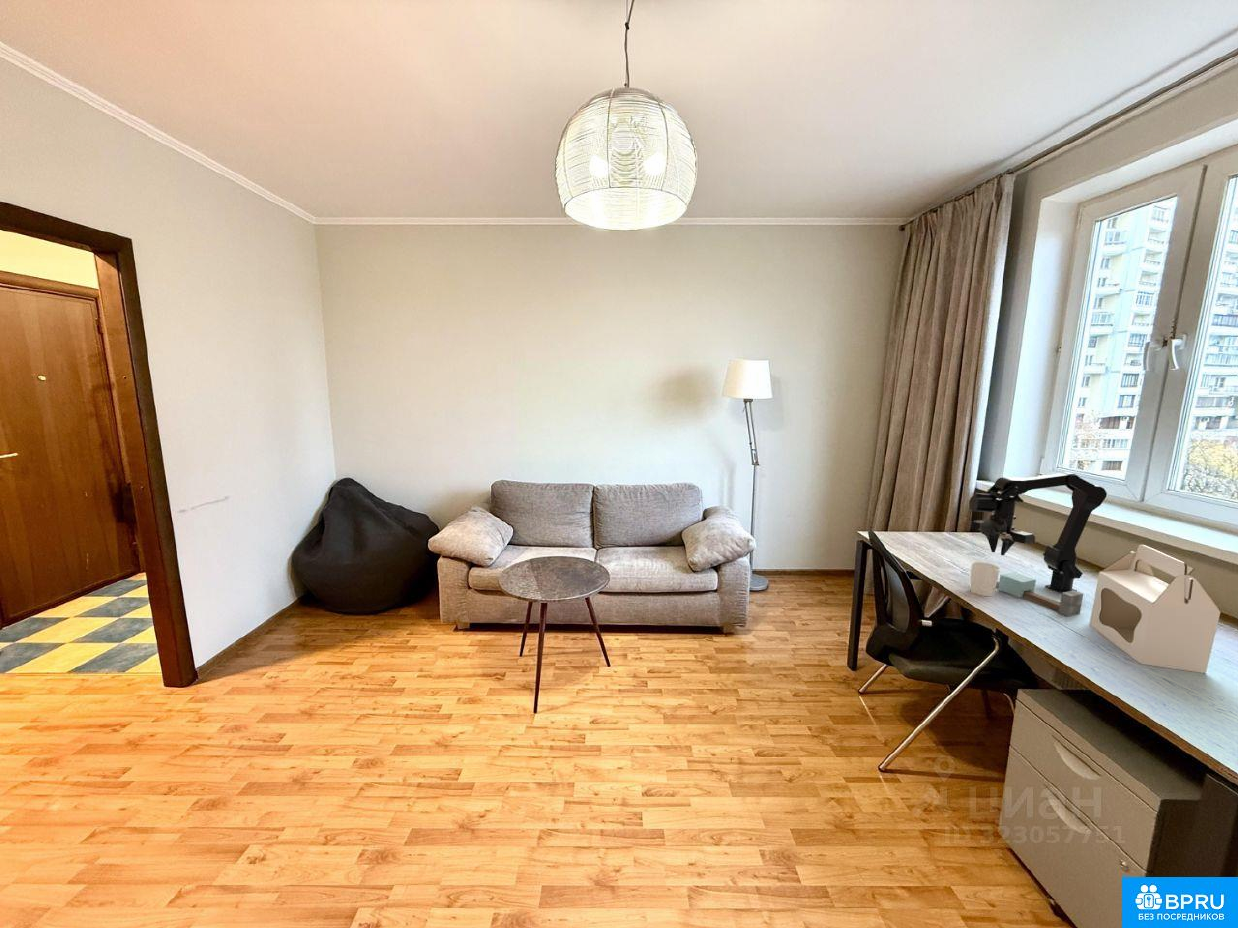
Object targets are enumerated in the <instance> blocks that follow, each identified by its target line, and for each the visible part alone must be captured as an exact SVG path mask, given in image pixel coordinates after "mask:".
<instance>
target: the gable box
mask: <svg viewBox="0 0 1238 928" xmlns="http://www.w3.org/2000/svg"><path fill="white" fill-rule="evenodd" d="M1151 566H1152V567H1153V568H1155V569H1158V570H1160V571H1162V572H1164V573H1165V574H1168V575H1170V576H1172V577H1173V579H1172V581H1171V582H1169V583H1167V582H1166V581H1163V580H1161V579H1159V578H1157V577H1155V574H1154V573H1153V572H1154V571H1153V570H1152V568H1151ZM1193 571H1195V568H1193V567H1191V566H1189V565H1187V563H1186V562H1183V560H1179V559H1177V558H1175V557H1173V556H1170V555H1168V554H1165V553H1164V552H1162V551H1159V550H1157V549H1155V548H1152V547H1150V546H1147V545H1145V544H1139V545H1138V547H1137V550H1136V551H1132V550H1130V552H1128V553H1127V554H1125V555H1123V556H1122V557H1120V558H1118V559H1117V560H1115V561H1114V562H1112V563H1111V564H1109V565H1108V566H1107V567H1104V568H1103V569H1102V570H1101V571H1099V572H1098V576H1097V582H1096V589H1095V593H1094V597H1093V604H1092V608H1091V614H1090V618H1089V626H1090V627H1092V628H1093V629H1094V630H1095V631H1097V633H1100V634H1101V635H1102V636H1103V637H1105V639H1107V640H1109V641H1110V642H1111V643H1112V644H1114V645H1115V646H1117V647H1118V648H1119V649H1120V650H1122V651H1123V652H1125V653H1126V654H1127V655H1128V656H1130V658H1132V659H1133V660H1135V661H1136V662H1137V663H1139V664H1140V665H1146V666H1151V667H1152V666H1153V667H1159V668H1166V669H1175V670H1180V671H1185V672H1186V671H1187V672H1192V673H1201V674H1206V673H1207V670H1208V666H1209V661H1210V657H1211V653H1212V649H1213V645H1214V641H1215V636H1216V633H1217V630H1218V629H1217V627H1218V623H1219V619H1220V617H1221V616H1220V615H1221V609H1219V608H1218V606H1217V605H1216V604H1215V603H1214V601H1213V600H1212V598H1211V597H1210V596H1209V595H1208V593H1207V591H1205V589H1204V588H1203V586H1202V585H1201V583H1200V582H1199V581H1198V580H1197V579H1196V578H1195V577H1193V576H1192V575H1190V574H1192V573H1193Z"/></svg>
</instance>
